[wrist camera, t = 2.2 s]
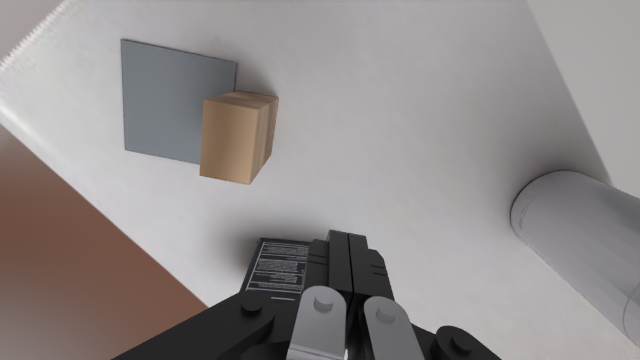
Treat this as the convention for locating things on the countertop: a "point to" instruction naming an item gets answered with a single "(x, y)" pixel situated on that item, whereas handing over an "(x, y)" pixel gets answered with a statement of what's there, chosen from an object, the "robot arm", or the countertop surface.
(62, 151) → the countertop surface
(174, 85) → the mat
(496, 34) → the countertop surface
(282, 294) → the small box
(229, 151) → the walnut block
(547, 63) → the countertop surface
